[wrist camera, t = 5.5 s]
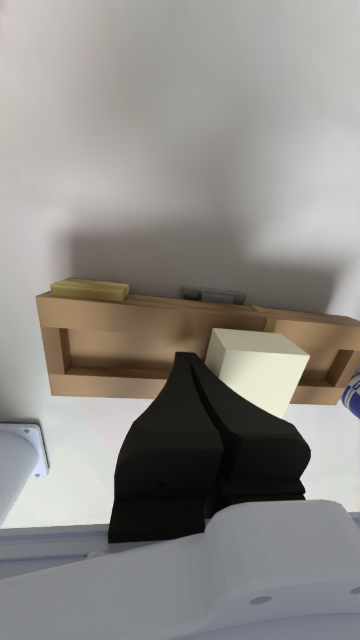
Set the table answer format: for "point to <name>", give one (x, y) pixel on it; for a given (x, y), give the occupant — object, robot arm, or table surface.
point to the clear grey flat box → (213, 296)
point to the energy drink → (352, 396)
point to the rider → (257, 366)
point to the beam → (174, 340)
